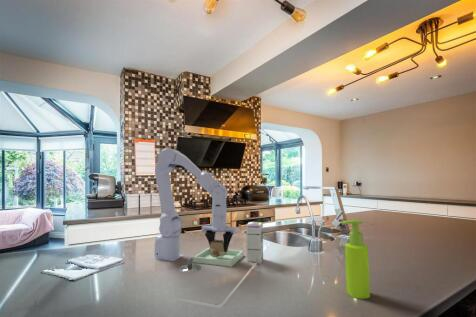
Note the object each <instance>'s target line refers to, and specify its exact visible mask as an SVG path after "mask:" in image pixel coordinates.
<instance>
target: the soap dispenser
mask: <svg viewBox="0 0 476 317" xmlns="http://www.w3.org/2000/svg"><path fill="white" fill-rule="evenodd" d="M340 223H341V224H343V225H350V224H351V225H352V227H351V228H352V229H351V230H352V231H349V232H348V234H349V238H348V239H349V242H348V243H347V242H346V243H345V244H344V254H345V257H344V258H345V284H346V294H347V295H348V296H350V297H353V298H356V299H361V300H362V299H365V300H367V299H369V298H370V297H371V291H370V290H371V288H370V287H371V286H370V285H371V284H370V264H369V259H370V258H369V246H368V245H365V244H364V243H363V242H364V239H363V233H362V232H361V231H360V225H361V224H363V222H362V220H361V221H360V220H354V219H353V220H352V219H349V220H348V219H347V220H343V221H341V222H340Z"/></svg>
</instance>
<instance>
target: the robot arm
mask: <svg viewBox="0 0 476 317" xmlns="http://www.w3.org/2000/svg"><path fill="white" fill-rule="evenodd" d="M177 166H181V167H183V168H185V170H187V171H188V172H189V173H190V174H191V175H193V177H195V178H196V181H197V184H198V185H199V186H201V187H202V188H203V189H204V190H205V191H206V192H208V194H210V197H211V199H212V202H211V203H212V204H211V214H212V215H211V225H202V226H201V232H205V233H204V236H205V237H206V239H207V241H208V244H209V246H210V242H212V241H213V240H215V238H216V233H223V234H222V236H223V237H222V238H223V240H224V252H227V251H228V250H229V247H230V242H231V240H232V237H233V235H234V234H237V233H238V227H233V226H227V196H228V188H227V187H226V186H225V185H224V184H221V181H218V180H217V179H216V178H215V177H213V174H212V173H211V172H206V171H204V172H203V171H202V170H201V169H200V168H199V167H198V166H197V165H196V164H195V163H194V162H192V161H191V159H189V157H187V156H186V155H185V154H183V153H182V152H181V151H179V150H176V149H172V148H170V147H165V148H163V149H162V150H161V151H160V152H159V153H158V155H157V160H156V165H155V169H154V173H155V181H156V185H157V190H158V192H157V193H158V197H159V202H160V207H161V215H160V217H159V228H158V231H159V233H160V234H159V235H157V237H156V238H155V241H154V257H153V259H156V260H164V261H172V262H174V261H176V260H178V259H180V258H181V257H183V256H184V254H182V253H181V252H180V251H181V232H180V231H181V229H182V228H183V222H182V220H181V218H180V216H179V213H178V212H177V210H176V207H175V206H176V205H175V201H174V195H173V190H172V184H171V177H170V172H171V171H172V170H173V169H174V168H175V167H177Z"/></svg>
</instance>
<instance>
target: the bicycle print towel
mask: <svg viewBox="0 0 476 317" xmlns="http://www.w3.org/2000/svg"><path fill="white" fill-rule="evenodd" d="M70 263H71V264H74V265H77V266H81V267H80V268H81V269H82V270H64V269H54V270H55V271H52V270H48V269H44V270H42V271H44V272H50V273H53V274H55V275H59V276H62V277H65V278H68V279H69V280H76V281H78V280H77V279H79V280H81V279H84V278H86V277H85V276H87V277H89V276H91V275H90V274H92V275H94V274H93V273H95V274H97V273H96V272H98V273H100V272H103V271H105V270H108V269H111V268H114V267H117V266H120V265H123V264H124V263H125V261H124V258H122V257H121V258H120V257H116V256H115V257H114V256H106V255H100V254H99V255H98V254H93V253H92V254H91V253H90V254H86V255H83V256H77V257H75V258H70V259H67V260H66V262H65V263H64V264H70ZM86 268H90V269H86ZM102 270H103V271H102ZM99 271H100V272H99ZM88 275H89V276H88ZM83 277H84V278H83ZM80 278H81V279H80ZM69 280H68V281H69Z"/></svg>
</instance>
